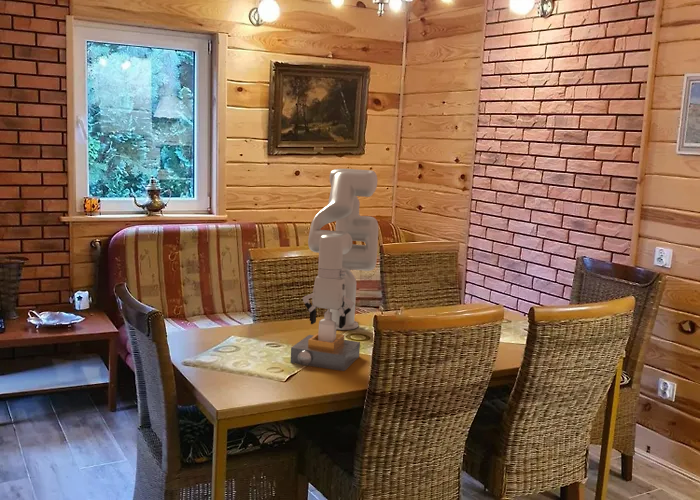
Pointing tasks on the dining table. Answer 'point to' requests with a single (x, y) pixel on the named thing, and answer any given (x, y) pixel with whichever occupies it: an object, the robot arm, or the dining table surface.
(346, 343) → the grey scale with tray
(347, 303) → the robot arm
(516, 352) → the dining table surface
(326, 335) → the eye dropper bottle
